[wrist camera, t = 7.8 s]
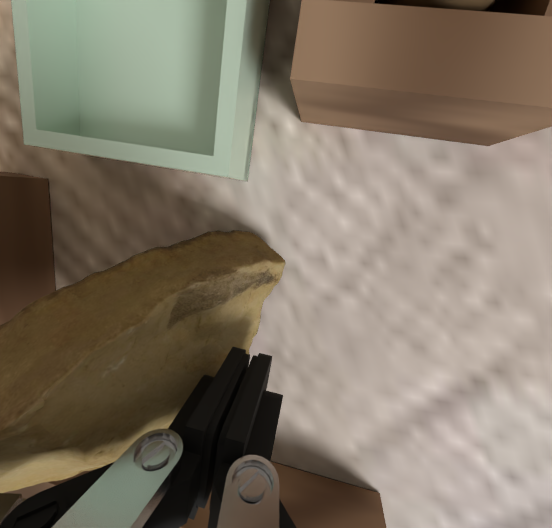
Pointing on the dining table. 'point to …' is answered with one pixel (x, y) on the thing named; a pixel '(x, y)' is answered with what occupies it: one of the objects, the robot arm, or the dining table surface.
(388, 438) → the dining table surface
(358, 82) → the holder
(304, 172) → the dining table surface
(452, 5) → the dowel
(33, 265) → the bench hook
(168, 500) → the robot arm
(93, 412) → the rock
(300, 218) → the dining table surface
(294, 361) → the dining table surface
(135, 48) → the tray
